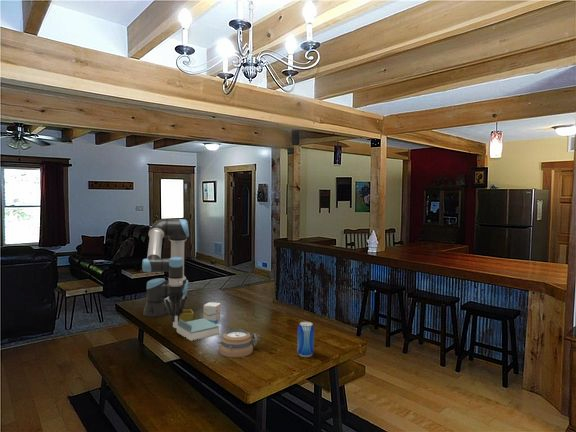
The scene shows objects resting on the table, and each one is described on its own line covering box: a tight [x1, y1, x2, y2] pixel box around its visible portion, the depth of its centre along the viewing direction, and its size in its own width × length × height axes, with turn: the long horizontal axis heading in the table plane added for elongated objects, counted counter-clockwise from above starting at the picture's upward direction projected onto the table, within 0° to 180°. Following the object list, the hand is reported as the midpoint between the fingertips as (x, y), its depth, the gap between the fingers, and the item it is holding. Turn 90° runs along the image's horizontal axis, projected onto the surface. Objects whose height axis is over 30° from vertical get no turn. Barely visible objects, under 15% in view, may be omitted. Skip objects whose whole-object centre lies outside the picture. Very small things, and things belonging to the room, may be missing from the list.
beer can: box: [296, 321, 315, 358], centre depth 196 cm, size 8×8×16 cm
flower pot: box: [179, 308, 194, 322], centre depth 236 cm, size 9×9×9 cm
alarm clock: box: [217, 329, 261, 358], centre depth 201 cm, size 17×9×23 cm
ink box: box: [202, 301, 221, 325], centre depth 245 cm, size 9×8×12 cm
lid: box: [178, 318, 220, 333], centre depth 224 cm, size 18×17×4 cm
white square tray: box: [176, 326, 220, 342], centre depth 224 cm, size 18×18×4 cm
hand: (175, 327), depth 214 cm, fingers closed
